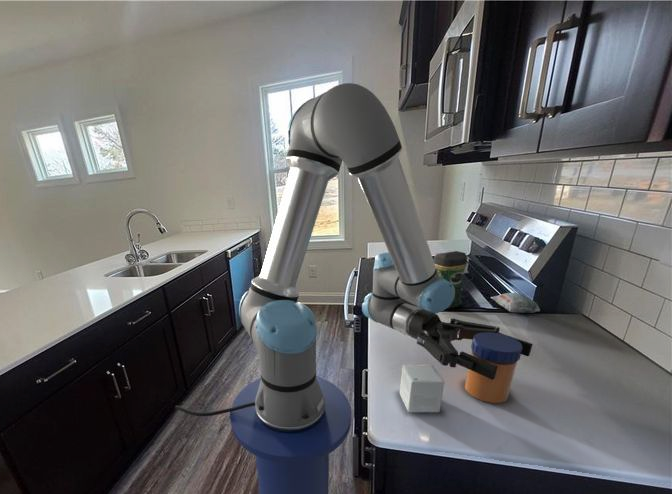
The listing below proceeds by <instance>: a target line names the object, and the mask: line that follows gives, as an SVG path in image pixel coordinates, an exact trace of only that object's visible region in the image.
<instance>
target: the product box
mask: <svg viewBox="0 0 672 494" xmlns="http://www.w3.org/2000/svg"><path fill="white" fill-rule="evenodd" d="M401 367H402V368H401V378H400V386H399V395H400V397H401V400H402V402H403V404H404V405H405V408H406V410H407V412H408V413H440V410H441V405H442V398H443V392H444V388H445V387H444V386H445V380H444V379H443V378H442V376H441V375H440V373H439V372H438V371H437V369H436V368H435V366H434V365H433V364H431V363H430V364H403V365H402V366H401Z"/></svg>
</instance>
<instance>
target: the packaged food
mask: <svg viewBox="0 0 672 494" xmlns="http://www.w3.org/2000/svg"><path fill="white" fill-rule="evenodd" d="M490 299H492V300H494V301H495V303H497V304H498V305H499V306H501V307H503V308H504V309H505V310H506V311H508V312H510V313H516V314H517V313H519V314H533V313H537V312H540V311H541V309H540V307H539V305H538V303H537V302H536V301H534V300H533V299H531V298H529V297H527V296H525V295H524V294H523V293H518V292H506V293H502V294H499V295H494V296H490Z"/></svg>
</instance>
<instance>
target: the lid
mask: <svg viewBox="0 0 672 494" xmlns="http://www.w3.org/2000/svg"><path fill="white" fill-rule="evenodd" d="M503 334H504V333H502V334H498V333H491V332H483V333H478V334H476V335H475V336H474V338H473V340H472V342H471V346H470V348H471V352H472V351H473V352H474V353H475V354H476V355H478V356H479V357H481V358H483V359H486V360H489V361H492V362H497V363H514V362H517V363H518V361H520V360H521V355H522V354H521V352H522V344H521V343H520V342H519V341H517V340H516V339H514V338H515V337H514V338H512V337H513V336H511V337H509V336H510V335H508V336H506V335H507V334H505V335H503Z"/></svg>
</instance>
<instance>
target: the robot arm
mask: <svg viewBox="0 0 672 494" xmlns="http://www.w3.org/2000/svg"><path fill="white" fill-rule="evenodd" d="M286 138H287V144H288V150H287V154H286V156H285V161H286V164H287V165H288V167H289V172H288V177H287V180H286V182H285V186H284V189H283V195H282V197H281V200H280V204H279V207H278V211H277V215H276V218H275V222H274V225H273V229H272V232H271V236H270V240H269V243H268V246H267V250H266V253H265V256H264V257H265V258H264V260H263V264H262V268H261V271H260V274H259V275H258V276H256V277H254V278H252V280H251V282H250V285H249V289H248V290H247V291H246V292H245V293H244V294H243V295H242V297H241V299H240V301H239V306H238V314H239V318H240V319H239V320H240V323H241V325H242V326H243V327H244V329H245V331H246V332H247V334H248V336H249V337H250V339H251V340H252V342H253V344H254V346H255V348H256V350H257V353H258V357H259V370H260V378H261V382H260V385H259V389H258V392H257V396H256V400H255V402H252V403H247V404H243V405H240V406H236V407H232V408H231V407H227V408H224V409H219V410H216V411H215V410H213V411H207V412H205V411H204V412H201V411H194V410H190V409H187V408H185V407H183V406H180V405H175V406H174V409H175V410H177V411H180V412H182V413H185V414H187V415H190V416H195V417H212V416H218V415H222V414H226V413H230V412H232V411H235V410H239V409H242V408H246V407H251V406H255V411H256V415H257V418H258V419H259V421H260V422H261V423H262V424H263V425H264V426H266V427H267V428H269V429H271V430H274V431H277V432H281V433H299V432H303V431H306V430H309V429H311V428H312V427H314V426H315V425H317V424H318V423H319V422H320V421H321V419H322V418H323V416H324V412H325V400H324V396H323V393H322V391H321V388H320V386H319V383H318V381H317V378H316V376H317V334H318V328H317V324H316V317H315V314H314V312H313V311H312V309H311V308H309V307H308V306H307V305H305V304H303V303H302V302H298V299H299V296H300V291H299V290H298V288H297V286H296V285H297V282H298V278H299V274H300V272H301V269H302V266H303V262H304V260H305V256H306V253H307V250H308V246H309V244H310V242H311V241H310V240H311V237H312V234H313V231H314V229H315V224H316V222H317V219H318V215H319V212H320V209H321V206H322V203H323V200H324V197H325V194H326V190H327V187H328V184H329V182H330V180H332V179H334V178H336V177H338V176H339V173H340V170H341V167H342V164H343V163H344V165H345V166H346V169H347V171H348V174H349V175H350V176H351V177H354V178H357V180H358V183H359V184H360V187H361V189H362V192H363V195H364V196H365V199H366V201H367V203H368V206H369V208H370V211H371V213H372V216H373V218H374V221H375V223H376V226H377V228H378V231H379V233H380V234H381V237H382V240H383V243H384V244H385V246H386V248H387V251H388V252H382V253H379V254H377V255H376V256H375V258H374V263H373V264H374V265H373V269H372V272H373V273H372V291H371V292H370V293H368V294H367V295H366V296H365V297H364V299H363V303H362V304H361V312H362V314H363V315H364V316H365V317H366V318H367V319H370V320H372V321H373V322H374V323H378V324H380V325H383V326H385V327H388V328H390V329H392V330H395V331H396V332H399V333H400V334H401V333H402V334H403V335H406V336H409V337H410V338H412V339H415V340H416V344H417V345H418V346H420V347H422V348H423V349H425V351H427V352H428V353H429V354H430V355H431V356H432V357H433V358H434V359H435V360H436V361H437V362H438V363H439V364H441V366H445V367H447V366H448V367H450V368H453V369H454V368H456V367H457V365H458V366H461V367H463V368H465V369H467V370H468V369H469V370H472V371H474V372H476V373H478V374H481V375H483V376H485V377H487V378H489V379H492V380H493V379H495V375H496V371H497V367H498V366H496V365H494V364H491V363H489V362H487V361H484V360H482V359H479V358H477V357H475V356H472V355H471V354H469V353H467V352H465V351H460V352H459V351H458V350H457V349H456V348H455V346H454V345H453V343H452V342H453V341H462V340H472V341H473V338H474V336H475V335H476V334H478V333H483V332H491V333H498V334H503V335H506V336H509V337H512V338H514V339H516V340H517V341H519V342H520V343H521V344H522V352H521V355H522V356H525V357H529V356H530V355H531V352H532V348H533V345H534V344H533V343H531V342H528V341H526V340H522V339H519V338H517V337H513V336H510V335H507V334H505V333H502V332H500V331H501V327H499V326H495V325H489V324H482V323H478V322H477V323H476V322H471V321H464V320H460V319H457V318H450V321H449V322H445V321H442V320H441V318H440V316H439V313H443V312H444V311H445V310H447V309H446V308H448V307H449V306H450V305H451V303H452V302H453V299H454V296H455V288H454V286H453V285H452V284H451V283H450V282H448V281H446V280H445V279H444V278H440V277H439V275H438V272H437V270H436V267H435V264H434V258H433V255H432V252H431V249H430V246H429V243H428V240H427V237H426V234H425V231H424V228H423V226H422V222H421V219H420V216H419V213H418V211H417V207H416V204H415V202H414V199H413V196H412V194H411V189H410V186H409V184H408V181H407V178H406V175H405V173H404V169H403V166H402V163H401V159H400V155H401V153H402V151H403V146H402V142H401V140H400V137H399V134H398V131H397V129H396V126H395V125H394V122H393V120H392V118H391V116H390V114H389V112H388V111H387V109H386V107H385V106H384V104H383V103H382V101H381V100H380V99H379V98H378V97H377V96H376V94H375V93H374V92H373V91H371V90H370V89H368V88H367V87H365V86H362V85H361V84H359V83H353V82H346V83H340V84H337V85H335V86H333V87H331V88H329V89H328V90H326V91H325V92H323V93H321V94H319V95H318V96H316V97H311V98H310V99H308V100H306V101H305V102H303V103H302V104H301V105H300V106H299V107H298V108H297V109H296V110H295V112H294V113H293V114H292V116H291V117H290V119H289V121H288V126H287V132H286ZM402 300H404V301H406V302H408V303H406V302H404V301H402Z"/></svg>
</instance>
